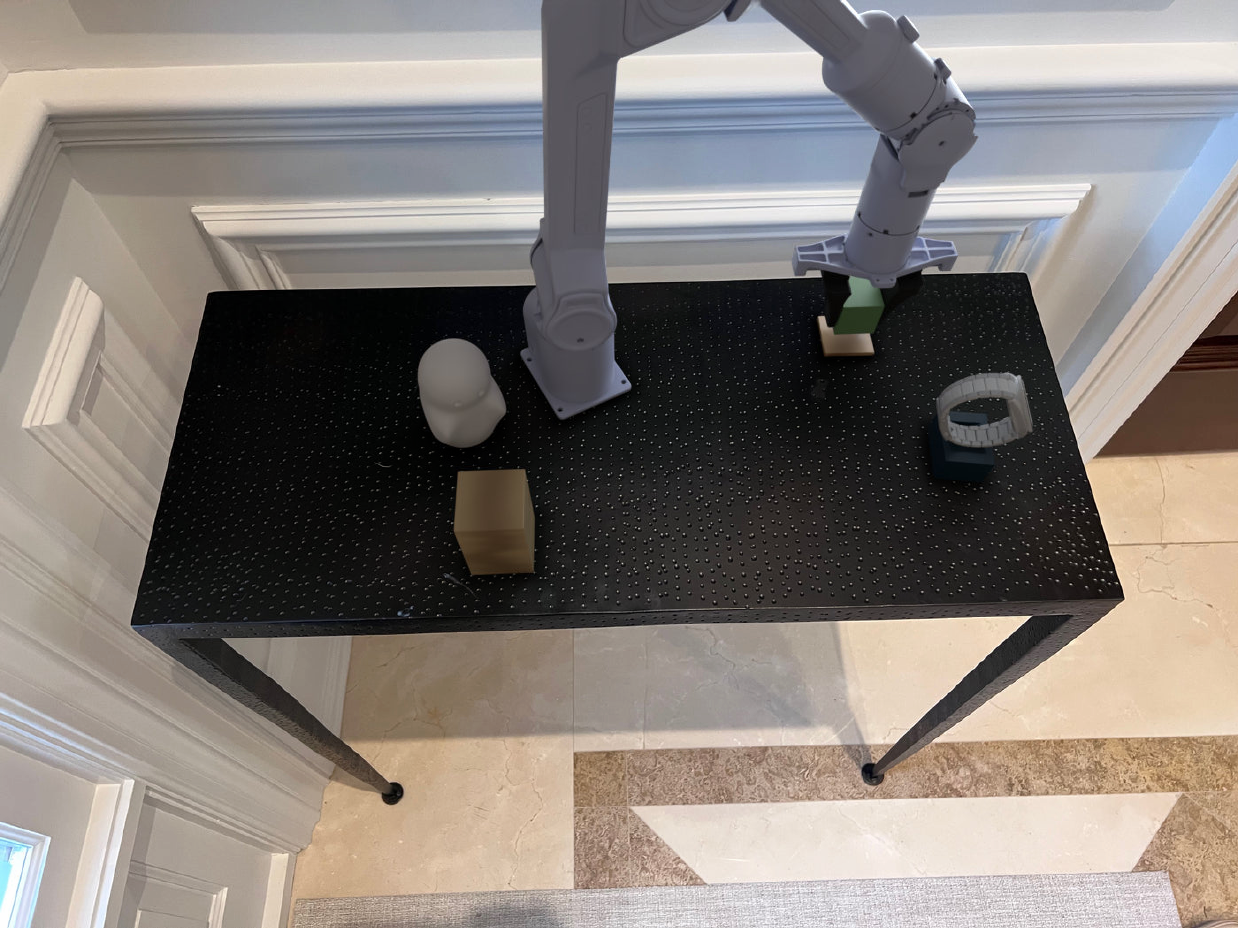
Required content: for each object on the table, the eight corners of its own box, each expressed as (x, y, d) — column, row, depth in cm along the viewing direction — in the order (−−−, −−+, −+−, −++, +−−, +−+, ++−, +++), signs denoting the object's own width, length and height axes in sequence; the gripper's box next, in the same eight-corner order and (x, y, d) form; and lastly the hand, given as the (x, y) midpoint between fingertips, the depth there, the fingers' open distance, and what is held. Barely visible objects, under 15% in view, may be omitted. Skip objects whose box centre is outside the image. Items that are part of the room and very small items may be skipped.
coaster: (824, 356, 80) (825, 353, 80) (816, 319, 83) (817, 316, 82) (873, 355, 80) (874, 352, 80) (863, 318, 83) (865, 315, 83)
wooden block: (471, 575, 68) (453, 531, 61) (474, 519, 71) (457, 471, 64) (534, 572, 68) (523, 528, 61) (534, 517, 71) (525, 468, 64)
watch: (1003, 484, 73) (1060, 415, 63) (914, 476, 73) (957, 407, 64) (994, 433, 75) (1047, 361, 66) (908, 426, 76) (949, 353, 66)
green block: (833, 335, 79) (843, 307, 75) (826, 305, 81) (835, 276, 77) (873, 333, 79) (885, 306, 75) (865, 303, 81) (876, 275, 77)
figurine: (451, 470, 73) (424, 394, 63) (417, 413, 77) (385, 332, 66) (518, 436, 75) (502, 357, 65) (482, 382, 79) (461, 298, 68)
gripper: (814, 248, 65) (785, 352, 77) (987, 242, 66) (932, 347, 77) (800, 191, 69) (774, 299, 81) (964, 186, 69) (915, 294, 81)
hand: (851, 319), depth 79 cm, fingers closed on green block, 4 cm apart
